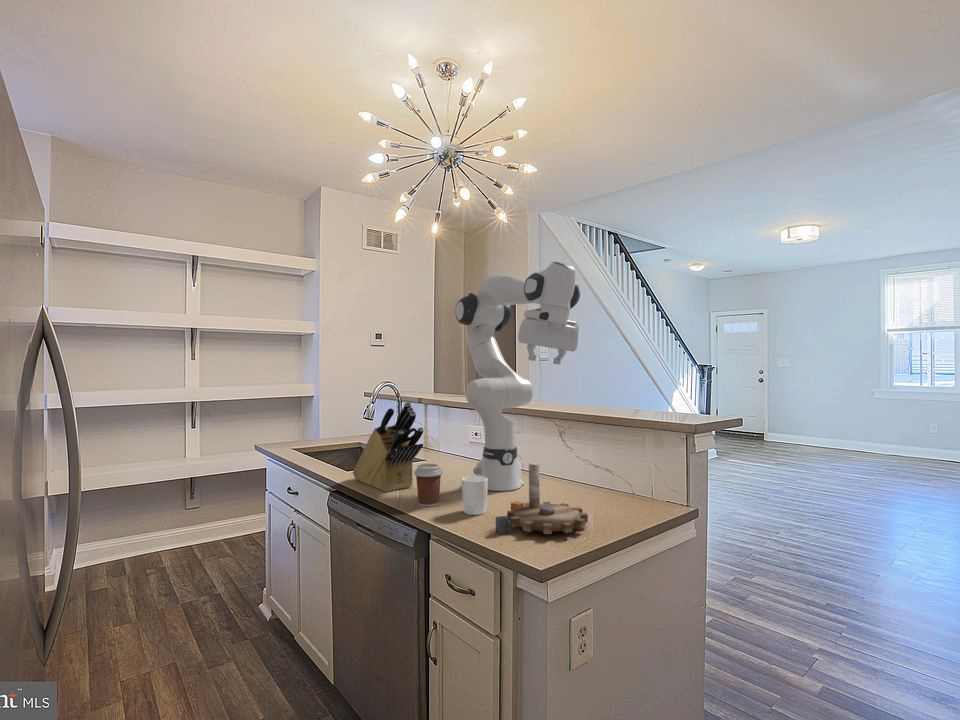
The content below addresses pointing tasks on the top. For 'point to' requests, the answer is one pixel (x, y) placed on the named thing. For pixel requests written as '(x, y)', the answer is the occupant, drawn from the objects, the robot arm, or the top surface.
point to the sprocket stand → (502, 525)
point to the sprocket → (544, 511)
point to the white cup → (474, 494)
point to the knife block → (390, 453)
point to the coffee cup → (428, 484)
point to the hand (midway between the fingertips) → (544, 362)
